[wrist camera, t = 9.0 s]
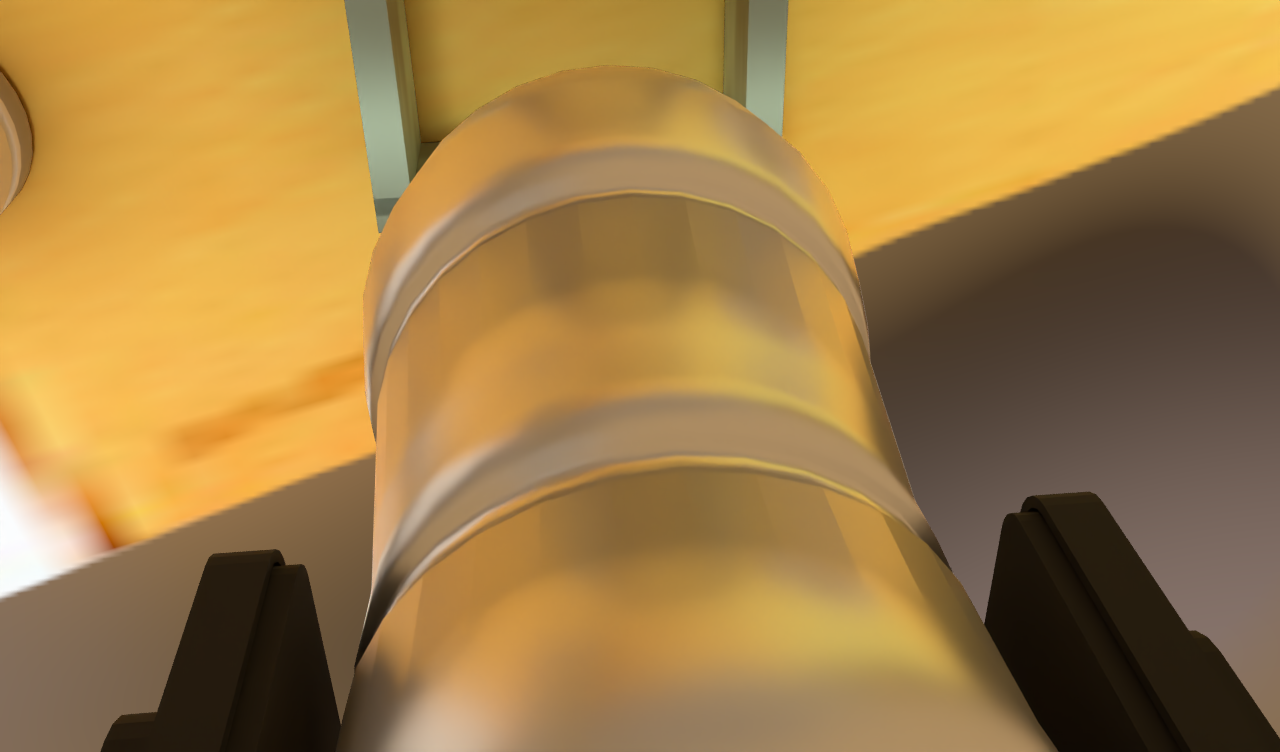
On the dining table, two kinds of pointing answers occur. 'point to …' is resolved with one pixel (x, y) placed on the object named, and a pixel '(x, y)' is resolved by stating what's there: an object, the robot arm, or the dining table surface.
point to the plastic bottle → (644, 454)
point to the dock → (400, 154)
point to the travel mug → (13, 144)
